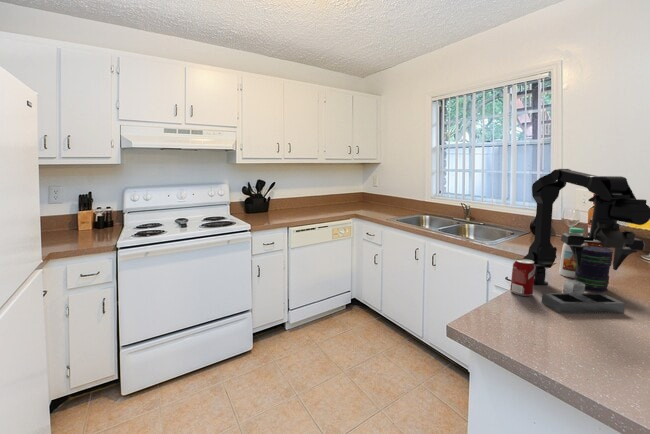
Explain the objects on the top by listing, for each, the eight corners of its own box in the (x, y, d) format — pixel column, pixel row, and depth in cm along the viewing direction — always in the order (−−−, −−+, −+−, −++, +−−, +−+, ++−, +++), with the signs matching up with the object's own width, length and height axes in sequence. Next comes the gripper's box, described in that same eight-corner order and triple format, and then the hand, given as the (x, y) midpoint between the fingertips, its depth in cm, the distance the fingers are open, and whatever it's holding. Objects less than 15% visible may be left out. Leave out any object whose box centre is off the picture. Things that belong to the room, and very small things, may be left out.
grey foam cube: (562, 293, 112) (564, 280, 111) (573, 293, 112) (575, 280, 111) (571, 298, 108) (573, 284, 107) (583, 298, 108) (585, 284, 107)
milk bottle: (554, 273, 134) (560, 227, 131) (567, 271, 136) (573, 226, 133) (573, 279, 126) (579, 230, 123) (587, 277, 129) (593, 229, 126)
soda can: (521, 298, 107) (525, 264, 106) (505, 290, 114) (508, 258, 112) (537, 296, 109) (541, 262, 107) (520, 289, 116) (523, 257, 114)
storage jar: (615, 292, 113) (621, 252, 111) (587, 292, 113) (593, 251, 111) (592, 282, 123) (597, 245, 121) (566, 282, 123) (571, 245, 121)
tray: (541, 302, 104) (542, 293, 104) (600, 302, 104) (602, 293, 104) (559, 313, 96) (561, 303, 96) (623, 313, 97) (625, 303, 96)
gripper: (579, 220, 90) (571, 273, 92) (663, 225, 84) (651, 281, 87) (563, 214, 100) (557, 261, 103) (637, 218, 94) (628, 268, 97)
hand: (596, 268), depth 97 cm, fingers open, 9 cm apart
